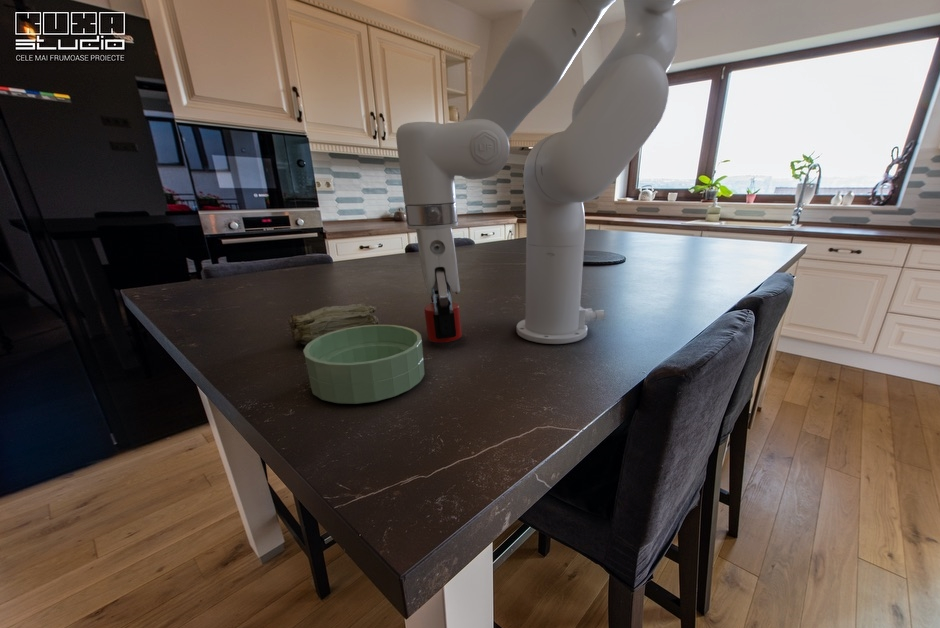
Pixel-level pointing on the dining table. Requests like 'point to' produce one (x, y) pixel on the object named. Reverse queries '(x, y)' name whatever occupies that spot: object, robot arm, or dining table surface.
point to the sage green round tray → (364, 363)
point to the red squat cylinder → (431, 328)
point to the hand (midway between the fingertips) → (444, 329)
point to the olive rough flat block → (330, 321)
